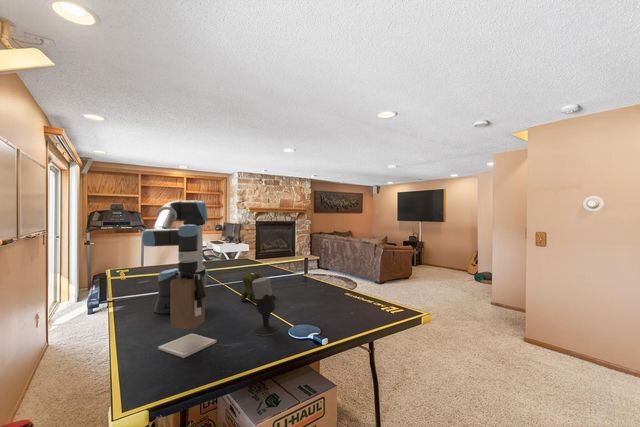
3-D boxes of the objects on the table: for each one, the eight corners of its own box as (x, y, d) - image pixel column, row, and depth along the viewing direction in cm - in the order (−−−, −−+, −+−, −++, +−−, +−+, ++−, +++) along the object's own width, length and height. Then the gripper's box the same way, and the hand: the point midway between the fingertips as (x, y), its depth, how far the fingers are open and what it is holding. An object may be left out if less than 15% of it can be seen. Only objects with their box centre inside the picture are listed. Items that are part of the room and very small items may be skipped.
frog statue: (267, 303, 202) (255, 303, 178) (245, 301, 204) (230, 300, 181) (270, 275, 208) (259, 271, 184) (249, 273, 210) (235, 269, 186)
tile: (158, 349, 121) (158, 346, 121) (191, 335, 135) (191, 332, 135) (183, 358, 114) (183, 355, 114) (216, 342, 128) (216, 339, 128)
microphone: (251, 326, 146) (251, 276, 146) (277, 324, 149) (277, 274, 150) (252, 337, 133) (252, 281, 134) (281, 333, 137) (281, 279, 137)
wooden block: (191, 330, 119) (191, 280, 119) (169, 329, 121) (169, 279, 121) (205, 322, 128) (205, 276, 129) (185, 320, 130) (185, 275, 131)
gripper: (162, 260, 127) (162, 311, 127) (199, 264, 116) (199, 320, 116) (177, 258, 134) (177, 306, 134) (214, 261, 123) (214, 314, 122)
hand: (188, 313), depth 125 cm, fingers closed on wooden block, 11 cm apart
